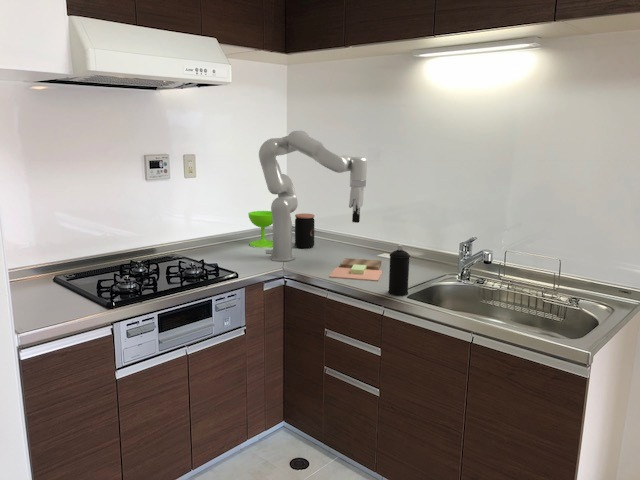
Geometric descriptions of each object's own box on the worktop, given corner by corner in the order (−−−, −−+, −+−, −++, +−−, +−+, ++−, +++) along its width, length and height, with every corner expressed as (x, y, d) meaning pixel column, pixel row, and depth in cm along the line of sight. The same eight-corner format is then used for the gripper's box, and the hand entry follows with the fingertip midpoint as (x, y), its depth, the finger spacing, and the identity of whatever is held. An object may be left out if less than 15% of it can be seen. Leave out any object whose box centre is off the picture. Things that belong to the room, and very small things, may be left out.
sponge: (350, 273, 237) (350, 269, 237) (353, 268, 246) (353, 264, 245) (363, 274, 236) (363, 270, 235) (366, 269, 244) (366, 265, 244)
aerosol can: (403, 297, 206) (405, 248, 202) (384, 293, 211) (386, 245, 206) (411, 292, 213) (413, 244, 209) (393, 288, 218) (394, 241, 213)
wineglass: (282, 243, 299) (281, 212, 295) (269, 249, 284) (269, 216, 280) (257, 240, 304) (256, 210, 300) (243, 246, 290) (243, 214, 286)
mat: (328, 277, 233) (329, 276, 232) (336, 268, 248) (336, 267, 248) (378, 281, 228) (378, 280, 227) (382, 271, 243) (382, 270, 243)
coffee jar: (313, 249, 284) (314, 216, 281) (294, 249, 285) (294, 216, 281) (314, 244, 295) (314, 213, 291) (295, 244, 295) (295, 213, 291)
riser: (340, 268, 247) (340, 264, 247) (345, 262, 259) (345, 258, 258) (378, 271, 243) (378, 267, 243) (381, 264, 255) (381, 260, 254)
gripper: (353, 181, 252) (351, 218, 256) (346, 184, 238) (344, 224, 242) (368, 182, 250) (366, 220, 254) (362, 186, 236) (360, 225, 240)
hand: (355, 222), depth 248 cm, fingers closed
